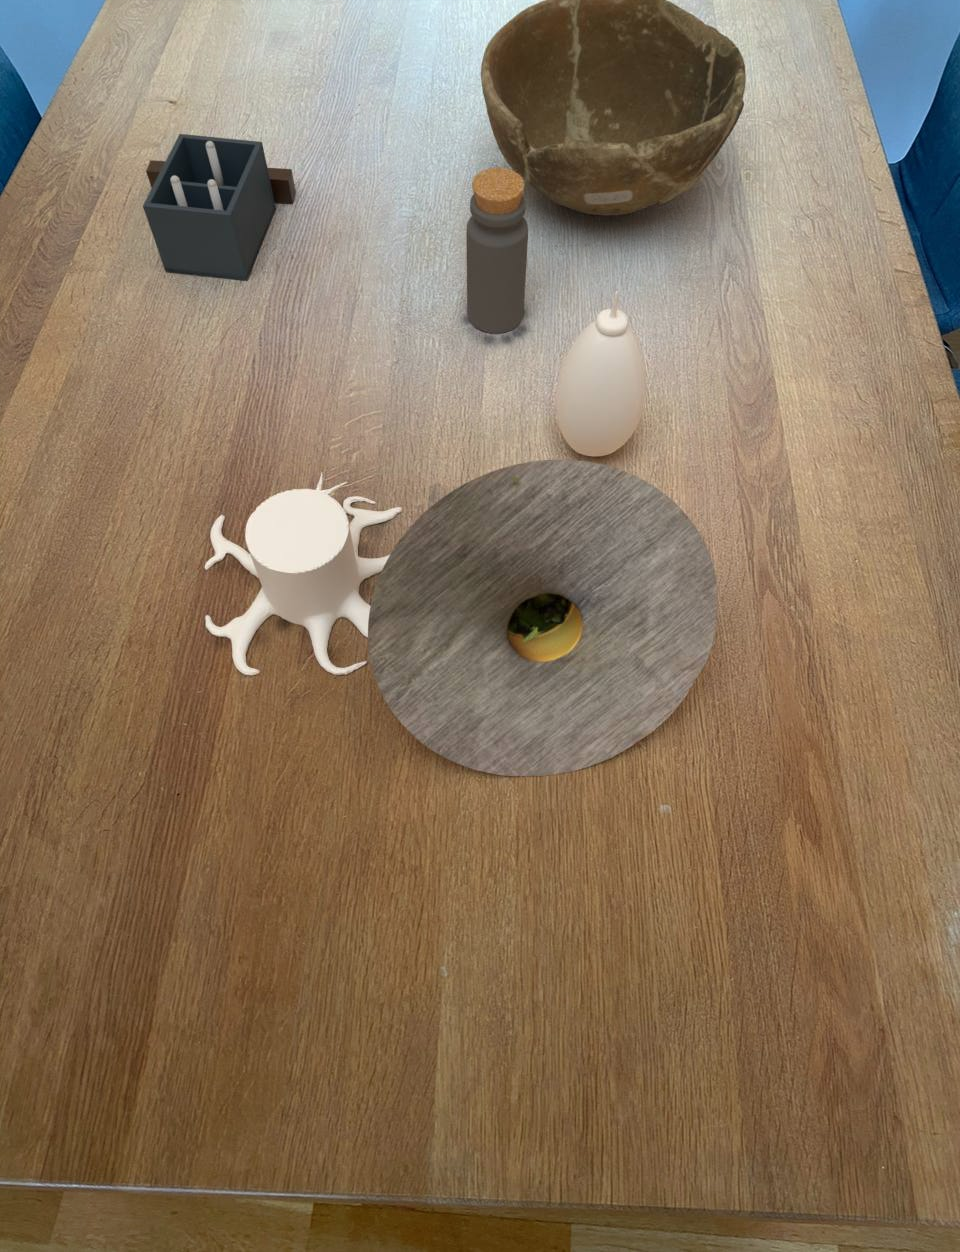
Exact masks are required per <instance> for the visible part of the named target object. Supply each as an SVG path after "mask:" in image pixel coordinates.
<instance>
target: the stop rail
mask: <svg viewBox="0 0 960 1252" xmlns="http://www.w3.org/2000/svg"><path fill="white" fill-rule="evenodd" d="M165 161H166V160H154V159H153V160H150V161H149V163H148V165H147V168H146V171H145V174H146V175H147V178H148V181H149V182H148V183H149V185H150V187H151V188H150V189H152V187H153V185H154V183H155V181H156V179H157V177H158V175H159V173H160V171H161V169H162V167H163V165H164V163H165ZM267 168H268V173H269V178H270V183H271V187H272V192H273V197H274V202H275V204H288V205H289V204H290V205H292V204H294V201H295V199H296V194H297V191H296V186H295V185H296V184H295V179H294V175H293V170H292V168H280V167H267Z"/></svg>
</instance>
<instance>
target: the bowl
mask: <svg viewBox="0 0 960 1252" xmlns="http://www.w3.org/2000/svg"><path fill="white" fill-rule="evenodd" d="M745 65H746V64H745V60H744V58H743V55H742V53H741V51H740V48H739V47H738V46H736V44H735V43H734V41H733V40H731V39H730V38H729V37H728V36H727V35H724V34H723V33H721V32H720V31H719V30H718V29H717V28H716V27H714V26H712V25H708V24H705V23H704V22H703V21H702V20H701V19H700V18H698V17H697V16H695V15H693V14H692V13H690V12H689V11H686V9H683V8H681V7H680V6H678V5H677V4H675V3H674V2H671V1H670V0H542V1H540V2H538V3H535V4H532V5H530V6H528V7H526V8H525V9H523V10H521V11H520V12H519V13H517V14H516V15H515V16H514V17H512V18H511V19H510V20H509V21H508V22H506V23H505V24H504V25H503V26H502V27H501V28H500V29H499V30H498V31H496V33H495V34H493V36H492V37H491V39H490V40H489V42H488V43H487V45H486V47H485V49H484V53H483V57H482V60H481V66H480V80H481V81H480V82H481V88H482V95H483V98H484V103H485V107H486V112H487V116H488V120H489V125H490V127H491V131H492V134H493V137H494V139H495V142H496V144H497V146H498V149H499V151H500V153H501V156H502V157H503V158H504V160H505V161H506V162H507V164H508V165H509V166H510V167H511V170H512V171H514V172H516V173H518V174H519V175H520V176H521V177H522V178H523V180H524V182H525V183H527V184H528V185H529V186H530V187H532V188H533V189H535V190H536V191H537V192H539V193H540V194H542V195H544V196H545V197H546V198H548V199H550V200H551V201H554V202H555V203H557V204H559V205H560V206H563V207H565V208H567V209H570V210H573V211H576V212H579V213H583V214H587V215H595V216H617V215H626V214H631V213H634V212H637V211H641V210H644V209H647V208H649V207H651V206H653V205H658V206H659V205H663V204H666V203H667V202H669V201H671V200H673V199H675V198H677V197H678V196H680V195H681V194H683V193H685V192H687V191H688V190H689V189H691V187H693V186H694V185H695V184H696V183H698V180H699V179H700V178H701V177H702V175H703V174H704V172H705V170H706V169H707V168H708V167H709V166H710V165H711V163H712V162H713V161H714V159H715V158H716V157H717V155H718V153H719V152H720V151H721V149H722V147H723V146H724V145H725V142H726V141H727V140H728V138H729V136H730V134H731V133H732V132H733V130H734V128H735V127H736V124H737V123H738V121H739V118H740V116H741V115H742V112H743V109H744V106H745V102H744V94H745V90H746V81H747V79H746V78H747V77H746V75H747V74H746V66H745Z"/></svg>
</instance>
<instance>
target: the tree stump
mask: <svg viewBox="0 0 960 1252" xmlns="http://www.w3.org/2000/svg"><path fill="white" fill-rule="evenodd" d="M323 474H324V473H323V471H322V472H321V473H320V478H319V481H318V482H317V485H316V489H312V488H298V489H297V488H293V489H291V490H289V489H287V490H285V491H280V492H278V493H276V494H273V495H271V496H269V497H268V498H267V499H265V500H264V501H262V502H261V503H260V505H258V506H256V507H255V510H254V511H253V512H252V513H251V514H250V516H249V518H248V519H247V522H246V525H245V532H244V533H245V534H244V539H245V543H246V547H247V550H248V551H247V550H245V549H244V548H243V547H241V546H240V545H238V544H237V543H235V542H233V541H231V540H229V539H227V538H226V537H224V536H223V532H222V529H223V526H224V521H225V519H226V516H225V515H224V514H220V515H219V516H217V518H216V520H215V521H214V522H213V524H212V527H211V528H210V534H209V535H210V542H211V545H212V548H213V551H214V555H213V556H212V557H211V558H209V559H207V561H205V564H204V570H205V571H207V570H210V568H211V567H213V565H214V564H216V563H219V562H221V561H222V560H224V558H225V557H226V555H227V554H230V555H232V556H233V558H235V559H236V560H237V561H238V562H239V563H240V564H241V566H243V568H244V569H245V570H247V571H248V572H249V573H250V574H251V575H253V576H254V577H256V578H257V579H259V580H258V581H259V582H260V585H261V588H260V589H259V592H258V593H257V595H256V597H255V598H254V600H253V602H252V603H251V604H250V606H249V607H248V609H247V610H246V611H245V613H243V614H242V615H241V616H235V617H234V618H233V619H232V620H230V621H229V622H228V623H226V624H225V625H223V626H218V625H216V624H215V623H214V622H213V620H212V617H211V616H210V615H208V614H206V615H205V617H204V620H205V628H206V629H207V630H208V631H209V633H210V634H211V635H213V636H215V637H218V638H227V639H229V640H230V642H231V654H232V655H231V658H232V660H233V661H232V662H233V664H234V665H235V668H236V669H237V670H238V671H239V672H240V673H241V674H243V675H245V676H250V677H251V676H255V675H259V674H260V672H261V670H259V669H258V668H254V667H250V666H249V665H248V663H247V656H246V654H247V652H248V649H249V647H250V644H251V642H252V640H253V637H254V636H255V634H256V632H257V631H258V630H259V629H260V627H261V626H262V624H263V623H264V622H265V621H266V620H267V619H268V618H269V617H272V615H273V616H274V615H275V616H278V617H280V618H281V619H283V620H286V621H287V622H289V623H292V624H293V625H299V626H302V627H304V628H305V630H307V631H308V634H309V637H310V640H311V645H312V649H313V653H314V657H315V659H316V660H317V662H318V664H319V666H320V667H321V668H323V669H324V670H325V671H326V672H327V673H331V674H332V675H333V676H334V675H335V676H336V675H337V676H340V675H344V676H345V675H348V674H349V673H352V672H354V671H355V670H358V669H360V668H361V667H363V666H365V665H366V664H367V663H368V661H367V660H364V661H361V662H357V663H354V664H352V665H349V666H346V667H338V666H336V665H334V664H333V663H332V662H331V660H330V658H329V653H328V647H329V640H330V635H331V633H332V630H333V629H332V628H333V626H334V624H335V623H336V621H337V620H338V619H341V618H346V619H347V620H348V621H349V622H351V623H352V624H353V625H354V626H355V627H356V628H357V630H358V631H359V632H360V633H361V634H362V635H363V636H364V637H365V638H367V639H368V620H369V612H370V606H371V604H369V603H368V602H366V601H365V599H363V598H362V597H361V595H360V586H361V583H362V582H363V581H364V580H365V579H368V578H369V579H370V577H371V576H374V575H377V574H379V573H381V572H382V569H383V567H384V565H385V563H386V561H387V560H388V558H389V556H390V554H391V553H389V554H387V555H386V556H382V557H376V558H375V557H374V558H372V557H371V558H370V557H363V556H359V545H360V535H361V533H362V530H363V529H364V528H365V527H369V526H372V525H377V524H380V523H384V522H387V521H389V520H393V519H394V518H395V516H397V515H398V514H401V513H402V512H403V508H402V507H401V506H397V507H392V508H389V509H387V510H383V511H380V510H370V509H364V508H357V507H352V505H351V504H352V503H357V502H366V503H368V504H370V505H376V501H375V500H371V499H370V498H366V497H363V496H360V495H359V496H358V495H354V496H348V497H346V498H345V499H344V500H343V502H342V504H340V503H339V502H338V501H337V500H336V499H335V498H334V497H332V496H331V494H333V493H334V492H336V491H338V490H339V489H340V488H341V487H343V486H344V485H345V484H347V483H348V481H344V482H342V483H339V484H336V485H334V486H332V487H330V488H327V489H322V485H323ZM347 514H348V515H350V516H353V519H351V521H350V522H349V519H348V515H347Z"/></svg>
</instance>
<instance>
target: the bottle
mask: <svg viewBox="0 0 960 1252" xmlns="http://www.w3.org/2000/svg"><path fill="white" fill-rule="evenodd" d="M471 186H472V191H473V194H472V195H471V197H470V202H469V212H470V214H471V216H470V217H469V218H468V220H467V222H466V307H467V308H466V309H467V310H466V312H467V319H468V321H469V323H470V324H471V325H472V326H473V327H474V328H476V329H477V330H479V331H481V332H484V333H488V334H496V335H497V334H504V333H508V332H510V331H512V330H515V328H517V327H518V326H519V325H520V324H521V322H522V320H523V317H524V313H525V311H524V309H525V297H526V279H527V277H526V276H527V263H528V262H527V261H528V258H527V257H528V244H529V243H528V240H529V225H528V221H527V220H526V218H525V217H524V216H525V213H526V209H527V207H526V205H527V203H526V202H527V201H526V198H525V196H524V190H525V186H526V185H525V180H524V179H523V178H522V177H521V176H520V175H519V174H518V173H516V172H515V171H514V170H513V169H509V168H505V167H491V168H490V167H489V168H487V169H484V170H482V171H480V172H479V173H477V174H476V175H475V176H474V178H473V179H472V185H471Z"/></svg>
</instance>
